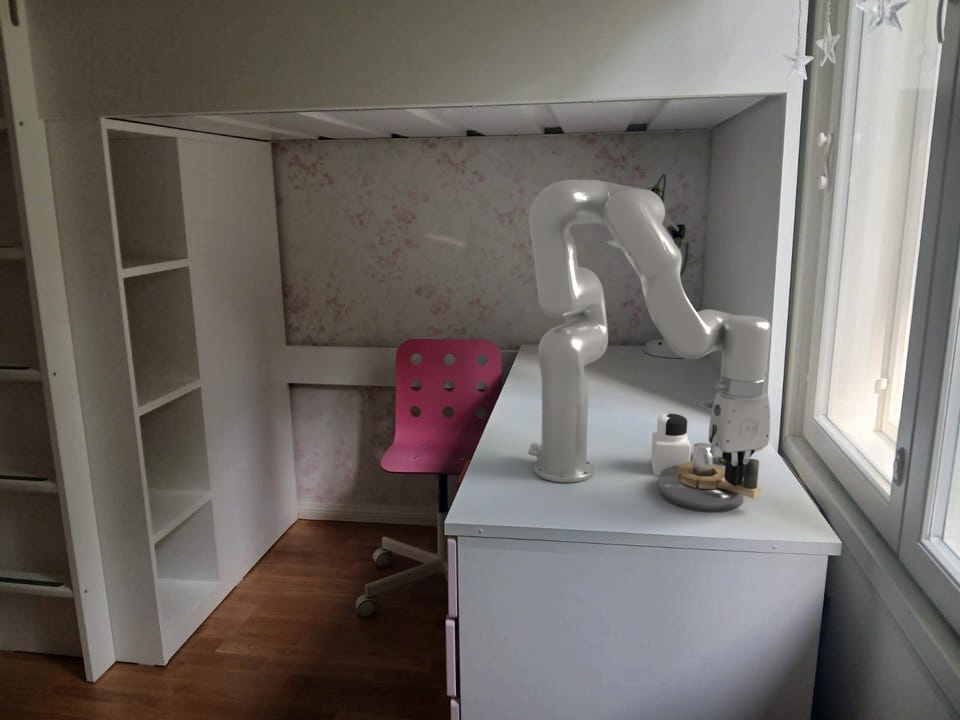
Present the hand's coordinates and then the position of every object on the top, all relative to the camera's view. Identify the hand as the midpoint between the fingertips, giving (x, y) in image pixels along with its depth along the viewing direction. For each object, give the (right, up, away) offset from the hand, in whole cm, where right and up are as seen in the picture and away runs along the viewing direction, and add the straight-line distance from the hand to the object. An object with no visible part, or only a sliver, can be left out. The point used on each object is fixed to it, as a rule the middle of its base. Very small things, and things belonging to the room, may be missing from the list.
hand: (733, 482), depth 132 cm
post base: (-3, -4, +10) cm, 11 cm away
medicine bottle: (-6, -1, +22) cm, 23 cm away
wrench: (-1, -1, +7) cm, 7 cm away
